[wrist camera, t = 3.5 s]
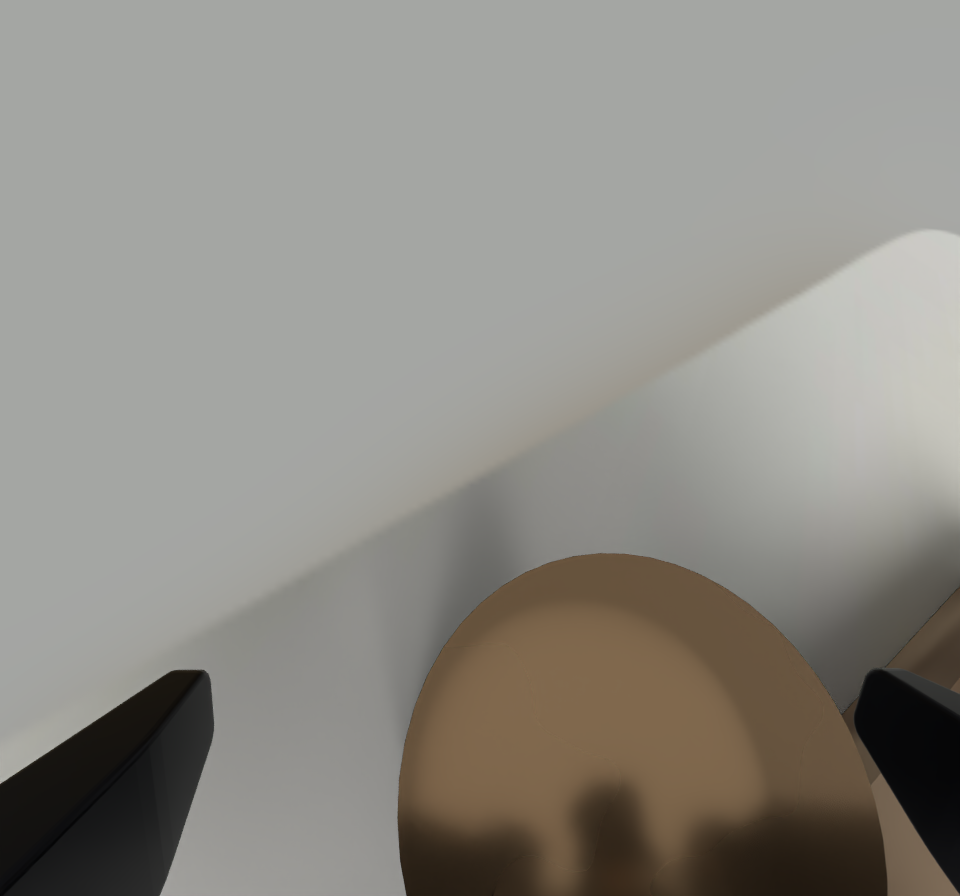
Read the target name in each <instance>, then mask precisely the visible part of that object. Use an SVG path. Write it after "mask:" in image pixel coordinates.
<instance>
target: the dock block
mask: <svg viewBox="0 0 960 896" xmlns="http://www.w3.org/2000/svg"><path fill="white" fill-rule="evenodd" d="M885 668H900V669H904V670H907V671H910V672H912V673H914V674H916V675H919V676H921V677H923V678H925V679H928V680H930V681H932V682H934V683H937V684H939V685H941V686H943V687H946V688H948V689H950V690H952V691H955V692H957V693H959V694H960V587H959V588H958V589H957V590H956V591H955V592H954V593H953V594H952V595H951V597H950V598H949V599H948V600H947V601H946V602H945V603H944V604H943V605H942V606H941V607H940V609H939V610H938V611H937V612H936V613H935V614H934V615H933V616H932V617H931V618H930V619H929V621H928V622H927V623H926V624H925V625H924V626H923V627H922V628H921V629H920V630H919V631H918V633H917V634H916V635H915V636H914V637H913V638H912V639H911V640H910V641H909V642H908V643H907V644H906V646H905V647H904V648H903V649H902V650H901V651H900V652H899V653H898V654H897V655H896V656H895V658H894V659H893V660H892V661H891V662H890V663H889V664H888V665H887V666H886V667H885ZM858 698H859V697H858ZM858 698H857V699H856V700H855V701H854V702H853V703H852V704H851V705H850V707H849V708H848V709H847V710H846V711H845V712H844V713H843V714H842V715H841V716H842V718H843V720H844V722H845V723H846V725H847V727H848V729H849V731H850V733H851V735H852V738H853V740H854V743H855V745H856V747H857V750H858V752H859V755H860V757H861V759H862V762H863V764H864V767H865V770H866V773H867V776H868V780H869V783H870V786H871V789H872V792H873V796H874V799H875V802H876V807H877V812H878V817H879V821H880V826H881V831H882V836H883V841H884V851H885V860H886V869H887V882H888V896H960V895H959V893H958V892H957V891H956V889H955V888H954V886H953V885H952V884H951V882H950V881H949V879H948V878H947V877H946V875H945V874H944V872H943V871H942V869H941V868H940V867H939V865H938V864H937V862H936V861H935V859H934V858H933V856H932V855H931V853H930V852H929V850H928V849H927V847H926V846H925V844H924V843H923V841H922V839H921V838H920V836H919V835H918V833H917V832H916V830H915V828H914V827H913V825H912V823H911V822H910V820H909V818H908V817H907V815H906V814H905V812H904V810H903V809H902V807H901V805H900V804H899V802H898V800H897V799H896V797H895V795H894V794H893V792H892V790H891V789H890V787H889V786H888V784H887V782H886V781H885V779H884V777H883V776H882V774H881V772H880V771H879V769H878V767H877V766H876V764H875V763H874V761H873V759H872V758H871V756H870V754H869V753H868V751H867V749H866V748H865V746H864V744H863V743H862V741H861V739H860V738H859V736H858V734H857V732H856V729H855V727H854V722H853V715H854V711H855V708H856V705H857V701H858Z"/></svg>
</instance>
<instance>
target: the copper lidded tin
mask: <svg viewBox="0 0 960 896" xmlns="http://www.w3.org/2000/svg"><path fill="white" fill-rule="evenodd" d="M398 834H399V849H400V862H401V867H402V873H403V879H404V884H405V890H406V895H407V896H888V882H887V869H886V860H885V851H884V841H883V836H882V831H881V826H880V821H879V817H878V812H877V807H876V802H875V799H874V796H873V792H872V789H871V786H870V783H869V780H868V776H867V773H866V770H865V767H864V764H863V762H862V759H861V757H860V755H859V752H858V750H857V747H856V745H855V743H854V740H853V738H852V735H851V733H850V731H849V729H848V727H847V725H846V723H845V722H844V720H843V718H842V716H841V714H840V712H839V710H838V708H837V706H836V705H835V703H834V701H833V699H832V698H831V696H830V695H829V693H828V692H827V690H826V689H825V687H824V686H823V684H822V682H821V681H820V679H819V678H818V676H817V675H816V673H815V672H814V671H813V669H812V668H811V667H810V666H809V664H808V663H807V662H806V661H805V659H804V658H803V657H802V656H801V654H800V653H799V652H798V651H797V649H796V648H795V647H794V646H793V645H792V644H791V643H790V642H789V641H788V640H787V639H786V638H785V637H784V635H783V634H782V633H781V632H780V631H779V630H778V629H777V628H776V627H775V626H774V625H773V624H772V623H771V622H769V621H768V620H767V619H766V618H765V617H764V616H762V615H761V614H760V613H759V612H758V611H756V610H755V609H754V608H753V607H752V606H751V605H749V604H748V603H746V602H745V601H744V600H742V599H741V598H739V597H738V596H736V595H735V594H733V593H732V592H730V591H729V590H728V589H726V588H724V587H723V586H721V585H719V584H717V583H715V582H713V581H712V580H710V579H708V578H706V577H704V576H702V575H700V574H698V573H695V572H693V571H690V570H688V569H685V568H683V567H681V566H678V565H676V564H672V563H668V562H665V561H661V560H657V559H654V558H650V557H643V556H636V555H629V554H606V553H598V554H589V555H581V556H573V557H569V558H565V559H562V560H558V561H554V562H550V563H547V564H545V565H542V566H540V567H538V568H535V569H533V570H530V571H528V572H525V573H524V574H522V575H520V576H519V577H517V578H515V579H513V580H512V581H510V582H508V583H507V584H505V585H503V586H502V587H500V588H499V589H498V590H497V591H495V592H494V593H493V594H492V595H490V596H489V597H488V598H487V599H485V600H484V601H483V602H481V603H480V604H479V605H478V606H477V608H476V609H475V610H474V611H473V612H472V613H471V614H470V615H469V616H468V617H467V618H466V619H465V620H464V621H463V622H462V623H461V624H460V626H459V627H458V628H457V630H456V631H455V632H454V634H453V635H452V636H451V638H450V639H449V640H448V642H447V643H446V644H445V646H444V647H443V649H442V651H441V652H440V654H439V656H438V658H437V659H436V661H435V663H434V665H433V667H432V668H431V670H430V672H429V674H428V676H427V678H426V680H425V683H424V685H423V688H422V690H421V693H420V695H419V697H418V700H417V702H416V705H415V708H414V711H413V715H412V718H411V722H410V726H409V729H408V733H407V736H406V740H405V745H404V752H403V758H402V764H401V771H400V777H399V796H398Z"/></svg>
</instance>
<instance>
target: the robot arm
mask: <svg viewBox="0 0 960 896" xmlns="http://www.w3.org/2000/svg"><path fill="white" fill-rule="evenodd" d="M853 722H854V727H855V729H856V732H857V734H858V736H859V738H860V739H861V741H862V743H863V744H864V746H865V748H866V749H867V751H868V753H869V754H870V756H871V758H872V759H873V761H874V763H875V764H876V766H877V767H878V769H879V771H880V772H881V774H882V776H883V777H884V779H885V781H886V782H887V784H888V786H889V787H890V789H891V790H892V792H893V794H894V795H895V797H896V799H897V800H898V802H899V804H900V805H901V807H902V809H903V810H904V812H905V814H906V815H907V817H908V818H909V820H910V822H911V823H912V825H913V827H914V828H915V830H916V832H917V833H918V835H919V836H920V838H921V839H922V841H923V843H924V844H925V846H926V847H927V849H928V850H929V852H930V853H931V855H932V856H933V858H934V859H935V861H936V862H937V864H938V865H939V867H940V868H941V869H942V871H943V872H944V874H945V875H946V877H947V878H948V879H949V881H950V882H951V884H952V885H953V886H954V888H955V889H956V891H957V892H958V893H959V895H960V694H959V693H957V692H955V691H952V690H950V689H948V688H946V687H943V686H941V685H939V684H937V683H934V682H932V681H930V680H928V679H925V678H923V677H921V676H919V675H916V674H914V673H912V672H910V671H907V670H904V669H900V668H875V669H872V670H870V671H869V672H868V673H867V674H866V676H865V679H864V682H863V685H862V689H861V692H860V695H859V698H858V701H857V705H856V708H855V711H854V715H853ZM213 732H214V716H213V704H212V692H211V681H210V677H209V674H208V673H207V672H206V671H204V670H174V671H171V672H169V673H167V674H166V675H164V676H163V677H161V678H160V679H158V680H157V681H155V682H153V683H152V684H150V685H149V686H147V687H146V688H144V689H143V690H141V691H140V692H138V693H137V694H135V695H134V696H132V697H131V698H129V699H128V700H126V701H125V702H123V703H122V704H120V705H119V706H117V707H116V708H114V709H113V710H111V711H110V712H108V713H107V714H105V715H104V716H102V717H101V718H99V719H98V720H96V721H95V722H93V723H92V724H90V725H89V726H87V727H86V728H84V729H83V730H81V731H80V732H78V733H76V734H75V735H73V736H72V737H70V738H69V739H67V740H66V741H64V742H63V743H61V744H60V745H58V746H57V747H55V748H54V749H52V750H51V751H49V752H48V753H46V754H45V755H43V756H42V757H40V758H39V759H37V760H36V761H34V762H33V763H31V764H30V765H28V766H27V767H25V768H24V769H22V770H21V771H19V772H18V773H16V774H15V775H13V776H12V777H10V778H9V779H7V780H6V781H4V782H2V783H1V784H0V896H160V893H161V891H162V889H163V886H164V884H165V881H166V879H167V876H168V873H169V870H170V867H171V864H172V861H173V859H174V856H175V853H176V850H177V847H178V844H179V840H180V837H181V834H182V831H183V828H184V825H185V822H186V819H187V816H188V813H189V810H190V807H191V804H192V801H193V798H194V795H195V792H196V789H197V786H198V783H199V780H200V777H201V773H202V770H203V767H204V764H205V761H206V758H207V755H208V752H209V749H210V746H211V743H212V738H213Z"/></svg>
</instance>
